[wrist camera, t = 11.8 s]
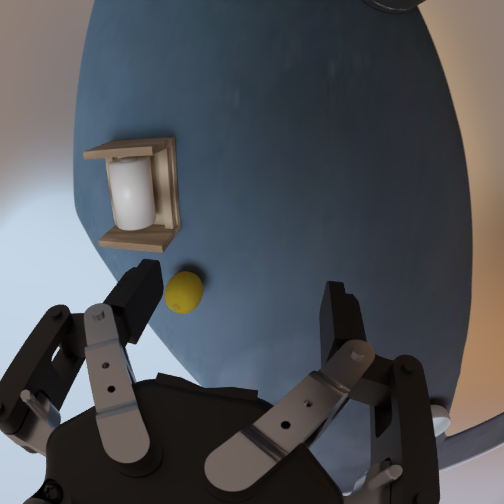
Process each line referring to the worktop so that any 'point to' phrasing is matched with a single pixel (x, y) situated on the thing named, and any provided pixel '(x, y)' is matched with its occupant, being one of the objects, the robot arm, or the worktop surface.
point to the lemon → (183, 292)
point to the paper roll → (132, 192)
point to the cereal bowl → (440, 419)
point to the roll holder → (163, 190)
